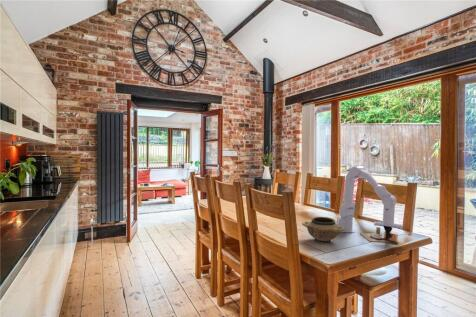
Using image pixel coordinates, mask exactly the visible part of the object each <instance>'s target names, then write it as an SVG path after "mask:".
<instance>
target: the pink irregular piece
mask: <svg viewBox="0 0 476 317" xmlns="http://www.w3.org/2000/svg"><path fill="white" fill-rule="evenodd" d="M382 234H384V235H382ZM370 237H372V238H375V239H386V232H385V231H384V232H383V233H381V232H380V234H377V233H376V232H374V233H370ZM398 237H399V233H398V232H397V233H396V232H393V231H391V232H390V234H389V240H390V241H394V242H398V241H399V240H398ZM386 240H387V239H386Z"/></svg>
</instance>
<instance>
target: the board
mask: <svg viewBox="0 0 476 317" xmlns="http://www.w3.org/2000/svg"><path fill="white" fill-rule="evenodd" d="M375 233H377V234H380V233H381V226H376V228H375ZM359 234H360V236H362V237H363V238H364V239H366V240H367V241H368V242H369V243H371V242H372V243H395V244H397V243H399V242H398V241H397V242H394V241H390V240H386V239H375V238H372V237H370V234H371V233H370V232H369V233H367V232H366V233H365V232H362V233H361V232H360V233H359ZM381 234H382V235H384V233H381Z"/></svg>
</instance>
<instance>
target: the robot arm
mask: <svg viewBox="0 0 476 317" xmlns="http://www.w3.org/2000/svg"><path fill="white" fill-rule="evenodd" d="M358 178H361V179H365V181H367V183H369V185H370V186H371V187H373V188H374V189H373V191H374V193H375V194H376V195H377V196H378V197H379V198H380V200H381V203H382V205H383V208H382V209H383V212H382V214H383V215H382V221H374V223H373V225H374V226H376V227H383V229H384V232H386V239H387V240H389V234H390V232H393V228H395V229H401V230H403V228H404V227H403V224H400V223H395V209H396V208H395V207H396V204H397V202H398V199H397V198H396V196H395V195H393V194H392V193H391V192H389V191H388V190H387V189H386V186H385V185H382V184H379V183H378V182H377V180H376V179H375V178H374V177H373V175H372V174H371V173H370V171H369V170H368V169H367V168H366V167H365V165H364V166H362V165H361V166H352V167H350V168H349V169H348V172H347V173H346V176H345V182H344V183H345V184H344V196H343V203H342V204H341V205H340V209H339V210H338V214H339V216H340V217H337V218H336V224H337V225H338V226H341V227H344V228H345V230H344V231H339V233H355V230H353V224H354V223H353V222H354V221H353V220H354V219H353V217H354V215H355V214H356V210H355V204H353V201H354V191H355V190H354V189H355V180H357V179H358Z"/></svg>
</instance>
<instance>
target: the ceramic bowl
mask: <svg viewBox="0 0 476 317" xmlns="http://www.w3.org/2000/svg"><path fill="white" fill-rule="evenodd" d="M301 225H302V226H303V227H305V228H306V229H307V232H308V234H309V236H311V238H313V240H314V242H316V243H319V244H322V245H323V244H325V245H326V244H327V245H328V244H331V242H332V240H335V239H336V238H337V237H338V236H339V234H340V231H344V230H345V228H344V227H341V226H338V225H337V222H336V219H334V218H331V217H327V216H314V217H312V218H311V221H303V222H302V223H301Z"/></svg>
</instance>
